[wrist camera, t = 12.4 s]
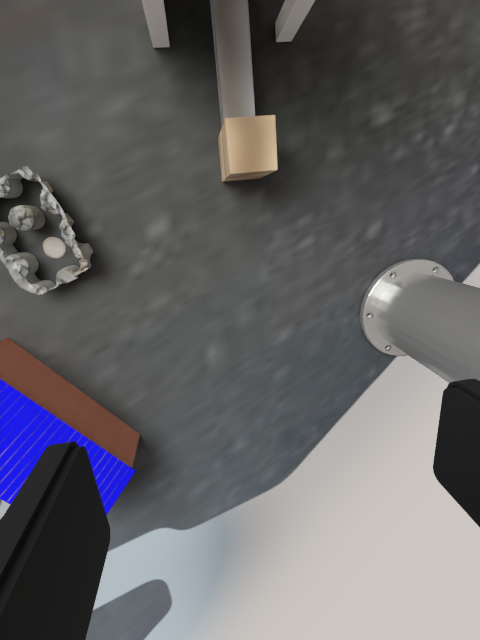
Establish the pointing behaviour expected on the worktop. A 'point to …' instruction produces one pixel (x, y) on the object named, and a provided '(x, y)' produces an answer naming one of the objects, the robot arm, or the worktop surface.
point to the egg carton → (33, 218)
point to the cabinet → (285, 25)
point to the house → (56, 426)
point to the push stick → (239, 98)
